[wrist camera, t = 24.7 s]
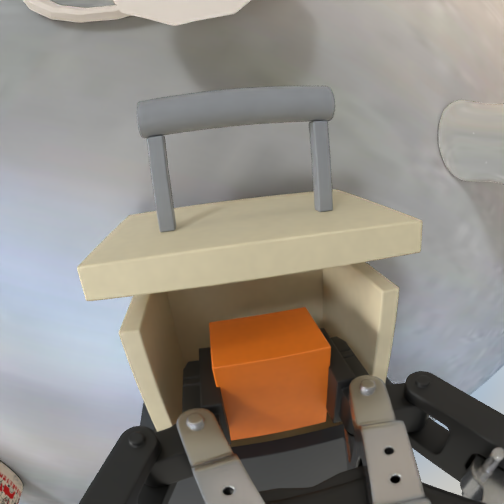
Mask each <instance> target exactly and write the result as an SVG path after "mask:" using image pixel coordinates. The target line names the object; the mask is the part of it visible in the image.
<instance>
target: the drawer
mask: <svg viewBox="0 0 504 504" xmlns="http://www.w3.org/2000/svg"><path fill="white" fill-rule="evenodd" d="M334 111H335V99H334V95H333V92H332V90H331V88H329V87H328V86H272V87H252V88H237V89H225V90H215V91H206V92H197V93H189V94H182V95H175V96H169V97H162V98H156V99H151V100H145V101H140V102H138V104H137V123H138V128H139V132H140V135H141V137H142V138H147V146H148V154H149V162H150V170H151V177H152V185H153V192H154V198H155V205H156V211H152V212H145V213H139V214H133V215H129V216H128V217H127V218H126V219H125V220H124V221H123V222H121V223H120V224H119V225H118V226H117V227H116V228H115V229H114V230H113V231H112V232H111V233H110V234H109V235H108V236H107V237H106V238H105V239H104V240H103V241H102V242H101V243H100V244H99V245H98V246H97V247H96V248H95V249H94V250H93V251H92V252H91V253H90V254H89V255H88V256H87V257H86V258H85V259H84V260H83V261H82V262H81V264H80V265H79V266H78V267H77V270H78V274H79V277H80V281H81V284H82V288H83V291H84V295H85V298H86V300H87V301H94V300H103V299H112V298H120V297H128V296H133V298H132V301H131V303H130V305H129V308H128V310H127V313H126V315H125V318H124V320H123V323H122V325H121V328H120V330H119V335H120V339H121V341H122V344H123V347H124V350H125V353H126V356H127V359H128V362H129V364H130V367H131V370H132V372H133V375H134V378H135V380H136V383H137V385H138V388H139V390H140V393H141V395H142V398H143V400H144V403H145V405H146V407H147V410H148V412H149V414H150V417H151V419H152V421H153V424H154V426H155V428H156V430H157V432H158V431H161V430H164V429H167V428H170V427H171V426H173V425H174V424H176V422H177V419H178V417H179V416H180V415H181V414H182V394H183V369H184V368H185V366H186V365H187V363H188V362H189V361H197V360H199V348H207V347H210V333H209V323H210V322H215V321H222V320H229V319H236V318H243V317H249V316H256V315H262V314H268V313H274V312H280V311H286V310H291V309H297V308H303V307H306V309H307V310H308V312H309V313H310V315H311V316H312V318H313V319H314V321H315V323H316V324H317V326H318V327H319V329H320V328H324V329H325V330H326V332H327V333H328V335H329V336H330V338H331V337H336V336H337V337H339V338H340V339H342V340H344V341H345V342H346V343H347V344H348V346H349V347H350V348H351V350H352V351H353V353H354V354H355V356H356V357H357V358H358V360H359V361H360V362H361V364H362V365H363V367H364V368H365V370H366V371H367V372H368V374H369V375H372V376H376V377H378V378H380V379H381V380H383V382H384V383H385V382H386V377H387V371H388V366H389V360H390V355H391V349H392V342H393V336H394V329H395V322H396V314H397V306H398V297H399V287H397V286H396V285H395V284H394V283H392V282H391V281H390V280H388V279H387V278H386V277H384V276H383V275H382V274H381V273H379V272H378V271H377V270H375V269H374V268H373V267H371V266H370V265H369V264H367V263H366V262H368V261H374V260H380V259H386V258H391V257H397V256H403V255H408V254H414V253H419V252H420V251H421V239H422V220H419V219H417V218H414V217H412V216H409V215H406V214H404V213H401V212H399V211H396V210H393V209H391V208H388V207H385V206H383V205H380V204H377V203H374V202H372V201H369V200H366V199H363V198H361V197H358V196H355V195H352V194H349V193H346V192H343V191H340V190H337V189H336V190H332V178H331V161H330V146H329V133H328V122H327V121H329V120H331V119H332V118H333V115H334ZM304 121H311V122H309V132H310V144H311V157H312V171H313V187H314V191H313V192H302V193H292V194H283V195H273V196H264V197H255V198H247V199H238V200H230V201H222V202H215V203H207V204H200V205H192V206H185V207H178V208H174V206H173V199H172V191H171V184H170V176H169V169H168V161H167V152H166V143H165V137H164V136H163V135H168V134H174V133H181V132H188V131H195V130H203V129H212V128H220V127H230V126H240V125H252V124H265V123H282V122H304ZM340 424H343V423H342V421H340V422H337V423H333V421H332V419H331V417H330V415H329V413H328V411H327V417H326V422H323V423H319V424H315V425H311V426H306V427H302V428H298V429H293V430H288V431H284V432H279V433H274V434H268V435H263V436H257V437H251V438H245V439H238V440H231V444H229V445H230V447H235V446H242V445H249V444H255V443H261V442H266V441H272V440H277V439H282V438H287V437H292V436H296V435H301V434H305V433H309V432H313V431H317V430H321V429H325V428H329V427H333V426H336V425H340Z"/></svg>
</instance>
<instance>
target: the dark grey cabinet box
mask: <svg viewBox="0 0 504 504" xmlns="http://www.w3.org/2000/svg"><path fill="white" fill-rule="evenodd" d="M385 384H392V383H391V382H390V380H389V379H388V378H387V377H386V382H385ZM140 426H144V427H148V428H150V429H152V430H153V431H154V432H157V430H156V428H155V426H154V424H153V421H152V419H151V417H150V414H149V412H148V410H147V407H146V405H145V403H143V409H142V416H141V423H140ZM343 430H344V425H343V424H340V425H336V426H333V427H329V428H325V429H321V430H317V431H313V432H309V433H305V434H301V435H296V436H292V437H287V438H282V439H277V440H272V441H266V442H261V443H255V444H249V445H242V446H235V447H231V449H232V451H233V453H234V454H235V453H236V454H237V456H238V457H239V459H240V461H241V462H242V464H243V466H244V468H245V470H246V471H247V473H248V475H249V477H250V478H251V480H252V482H253V484H254V485H255V487H256V489H257V490H258V492H259V491H265V490H271V489H276V488H307V487H313V486H315V485H317V484H319V483H321V482H323V481H325V480H327V479H329V478H331V477H333V476H335V475H336V474H338V473H341V472H344V471H347V461H346V452H345V444H344V436H343ZM168 504H205V501H204V499H203V497H202V494H201V492H200V490H199V487H198V485H197V482H196V480H195V477H194V476H193V477H190V478H187V479H184V480H181V481H178V482H177V484H176V487H175V489H174V491H173V494H172V496H171V498H170V501H169V503H168Z"/></svg>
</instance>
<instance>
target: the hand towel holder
mask: <svg viewBox="0 0 504 504" xmlns="http://www.w3.org/2000/svg"><path fill="white" fill-rule="evenodd" d="M23 1H24V2H25V4H26V5H27V6H28V7H29V9H30V10H32V11H35V12H37V13H39V14H41V15H43V16H45V17H47V18H49V19H53V20H62V21H70V22H78V23H83V22H92V21H103V20H117V19H120V18H124V17H128V16H132V15H133V16H138V17H142V18H146V19H150V20H154V21H158V22H161V23H165V24H168V25H172V26H176V25H180V24H185V23H189V22H194V21H198V20H203V19H208V18H214V17H219V16H225V15H231V14H235V13H236V12H237V11H239V10H240V9H241V8H242V7H243V6H244V5H246V4H247V3H248V2H249V1H251V0H113V2H114V3H115V4H116V5H111V6H100V7H91V8H82V7H73V6H63V5H59V4H57V3H54V2H52V1H50V0H23Z"/></svg>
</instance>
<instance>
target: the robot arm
mask: <svg viewBox="0 0 504 504" xmlns="http://www.w3.org/2000/svg"><path fill="white" fill-rule="evenodd" d="M320 330H321V332H322V334H323V335H324V337H325V338H326V340H327V341H328V343H329V345H330V346H331V357H330V366H329V371H328V388H327V402H326V409H327V411H328V413H329V415H330V417H331V419H332V421H333V423H337V422H340V421H342V423H343V425H344V430H343V436H344V444H345V452H346V461H347V471H344V472H341V473H338V474H336V475H335V476H333V477H331V478H329V479H327V480H325V481H323V482H321V483H319V484H317V485H315V486H313V487H307V488H276V489H271V490H265V491H259V492H258V490H257V489H256V487H255V485H254V484H253V482H252V480H251V478H250V477H249V475H248V473H247V471H246V470H245V468H244V466H243V464H242V462H241V461H240V459H239V457H238V456H237V454H236V453H235V454H234V453H233V451H232V449H231V447H230V445H229V444H231V437H230V430H229V425H228V421H227V416H226V412H225V407H224V403H223V399H222V394H221V389H220V387H216V384H215V379H214V374H213V370H212V360H211V347H207V348H199V360H197V361H189V362H188V363H187V365H186V366H185V368H184V369H183V394H182V414H181V415H180V416H179V417H178V419H177V422H176V424H174V425H173V426H171V427H170V428H167V429H164V430H161V431H158V432H154V431H153V430H152V429H150V428H148V427H144V426H136V427H132V428H130V429H128V430H126V431H125V432H124V433H123V434H122V435H121V436H120V438H119V440H118V441H117V443H116V444H115V446H114V448H113V449H112V451H111V452H110V454H109V456H108V457H107V459H106V460H105V462H104V464H103V465H102V467H101V468H100V470H99V472H98V473H97V475H96V477H95V478H94V480H93V481H92V483H91V485H90V486H89V488H88V490H87V491H86V493H85V494H84V496H83V498H82V499H81V501H80V503H79V504H168V503H169V501H170V498H171V496H172V494H173V491H174V489H175V487H176V484H177V482H178V481H181V480H184V479H187V478H190V477H193V476H194V477H195V480H196V482H197V485H198V487H199V490H200V492H201V494H202V497H203V499H204V501H205V504H504V415H503V414H501V413H499V412H498V411H496V410H494V409H492V408H491V407H489V406H487V405H485V404H484V403H482V402H480V401H478V400H477V399H475V398H473V397H471V396H470V395H468V394H466V393H464V392H463V391H461V390H459V389H457V388H456V387H454V386H452V385H450V384H449V383H447V382H445V381H443V380H442V379H440V378H438V377H437V376H435V375H433V374H431V373H429V372H423V371H419V372H414V373H412V374H410V375H409V376H408V377H407V379H406V383H401V384H385V383H384V382H383V380H381V379H380V378H378V377H376V376H372V375H369V374H368V372H367V371H366V370H365V368H364V367H363V365H362V364H361V362H360V361H359V360H358V358H357V357H356V356H355V354H354V353H353V351H352V350H351V348H350V347H349V346H348V344H347V343H346V342H345V341H344V340H342V339H340V338H339V337H337V336H336V337H331V338H330V336H329V335H328V333H327V332H326V330H325V329H324V328H320ZM429 415H430V416H432V417H433V418H435V419H436V420H438V421H440V422H441V423H443V424H444V425H445V426H447V427H448V429H449V431H448V430H447V429H445V428H444V427H442V426H440V425H439V424H437V423H436V422H434V421H433V420H431V419H430V418H428V417H429ZM412 448H413V449H414V450H416V451H417V452H419V453H420V454H421V455H423V456H424V457H425V458H427V459H428V460H430V461H431V462H432V463H434V464H435V465H437V466H438V467H439V468H441V469H442V470H444V471H445V472H447V473H448V474H450V475H451V476H452V477H454V478H455V479H457V480H458V481H459V482H460V486H461V489H462V496H460V495H457V494H454V493H451V492H447V491H445V490H442V489H439V488H436V487H433V486H431V485H428V484H425V483H422V482H421V479H420V475H419V471H418V468H417V464H416V461H415V457H414V454H413V450H412Z"/></svg>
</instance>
